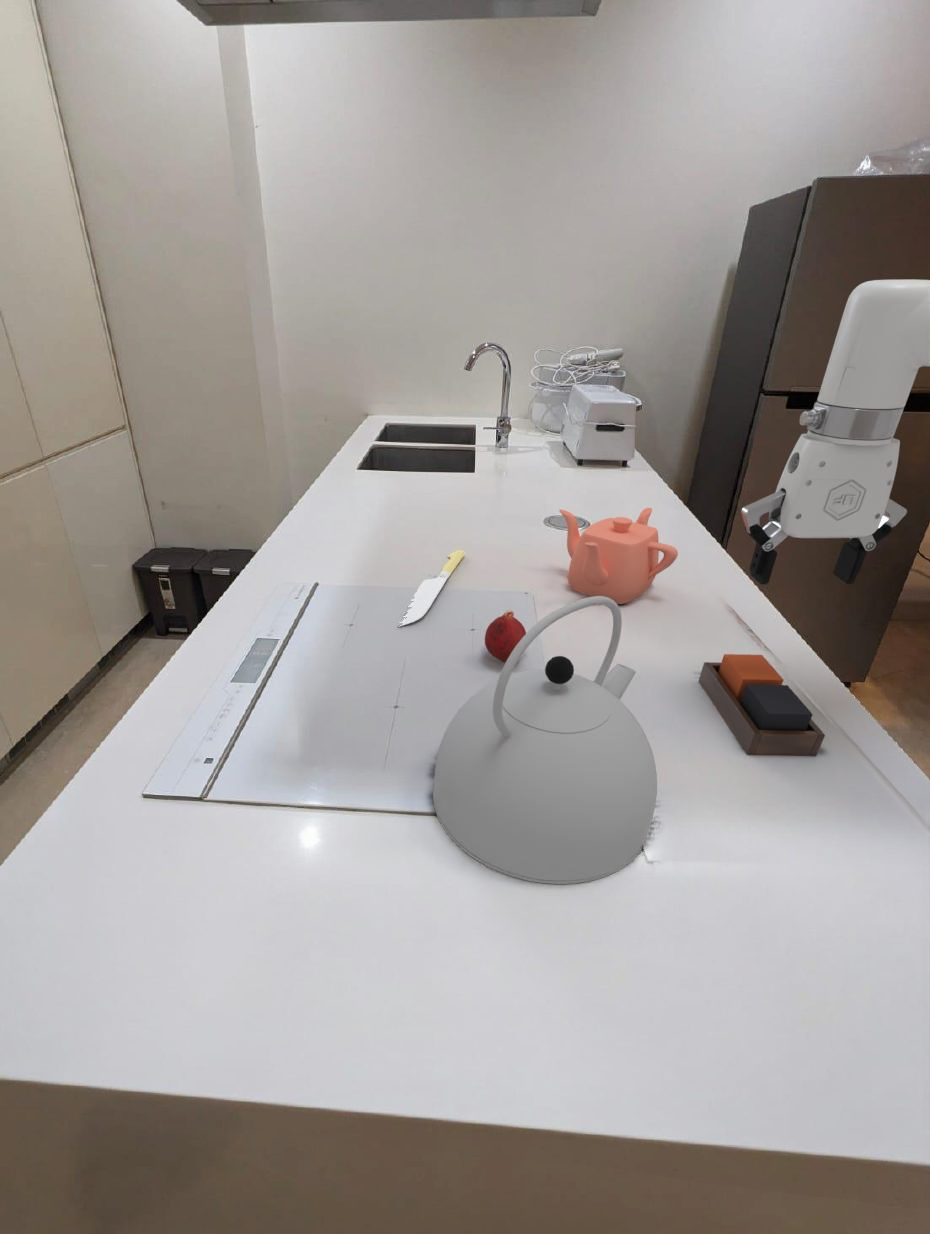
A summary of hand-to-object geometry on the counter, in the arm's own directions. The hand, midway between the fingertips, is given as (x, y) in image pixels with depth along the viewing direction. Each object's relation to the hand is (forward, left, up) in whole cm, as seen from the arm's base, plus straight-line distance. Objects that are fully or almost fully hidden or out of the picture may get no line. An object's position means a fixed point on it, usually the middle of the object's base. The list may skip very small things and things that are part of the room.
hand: (800, 579), depth 73 cm
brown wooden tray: (+2, +3, -18) cm, 18 cm away
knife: (+42, -35, -18) cm, 57 cm away
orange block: (+2, 0, -17) cm, 17 cm away
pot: (+11, -37, -18) cm, 42 cm away
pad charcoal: (+2, +7, -17) cm, 18 cm away
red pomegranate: (+32, -10, -18) cm, 38 cm away
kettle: (+30, +17, -18) cm, 39 cm away
